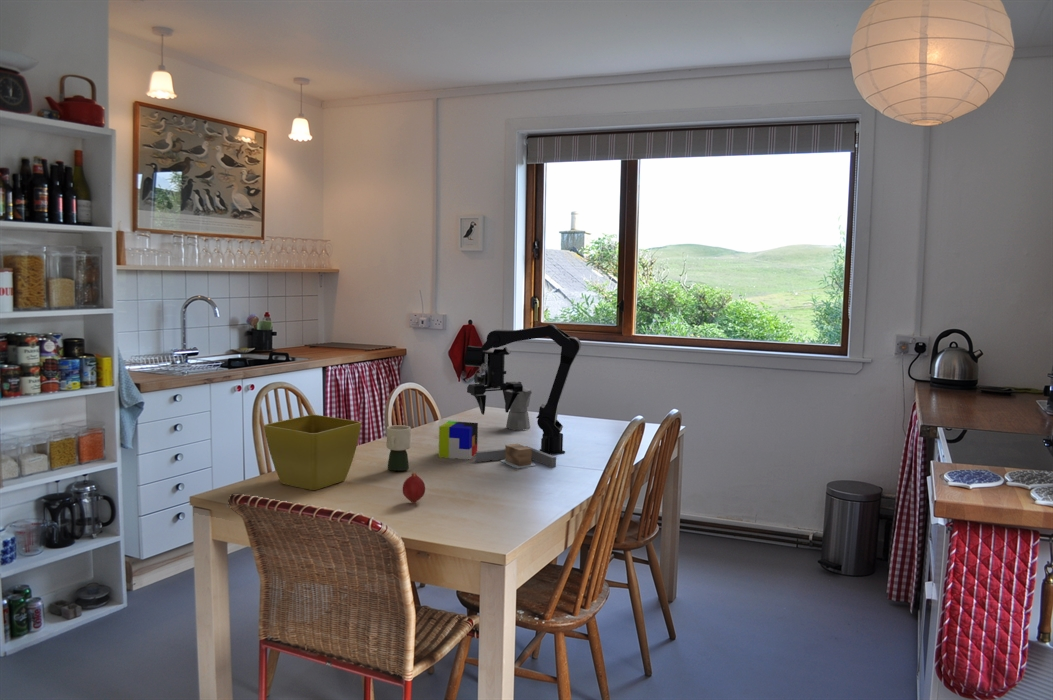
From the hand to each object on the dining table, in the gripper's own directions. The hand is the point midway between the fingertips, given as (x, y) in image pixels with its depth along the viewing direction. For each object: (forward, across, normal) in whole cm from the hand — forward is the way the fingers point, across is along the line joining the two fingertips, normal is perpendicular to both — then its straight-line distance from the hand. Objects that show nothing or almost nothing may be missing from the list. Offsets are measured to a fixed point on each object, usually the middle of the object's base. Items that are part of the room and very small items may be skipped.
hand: (494, 413), depth 263 cm
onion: (+12, +49, +45) cm, 68 cm away
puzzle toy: (+12, +15, +3) cm, 20 cm away
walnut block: (+12, +4, +21) cm, 25 cm away
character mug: (+12, +40, +13) cm, 44 cm away
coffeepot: (+12, -25, -27) cm, 39 cm away
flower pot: (+12, +66, +15) cm, 69 cm away
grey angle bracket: (+12, +4, +22) cm, 25 cm away
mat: (+12, +4, +22) cm, 25 cm away
